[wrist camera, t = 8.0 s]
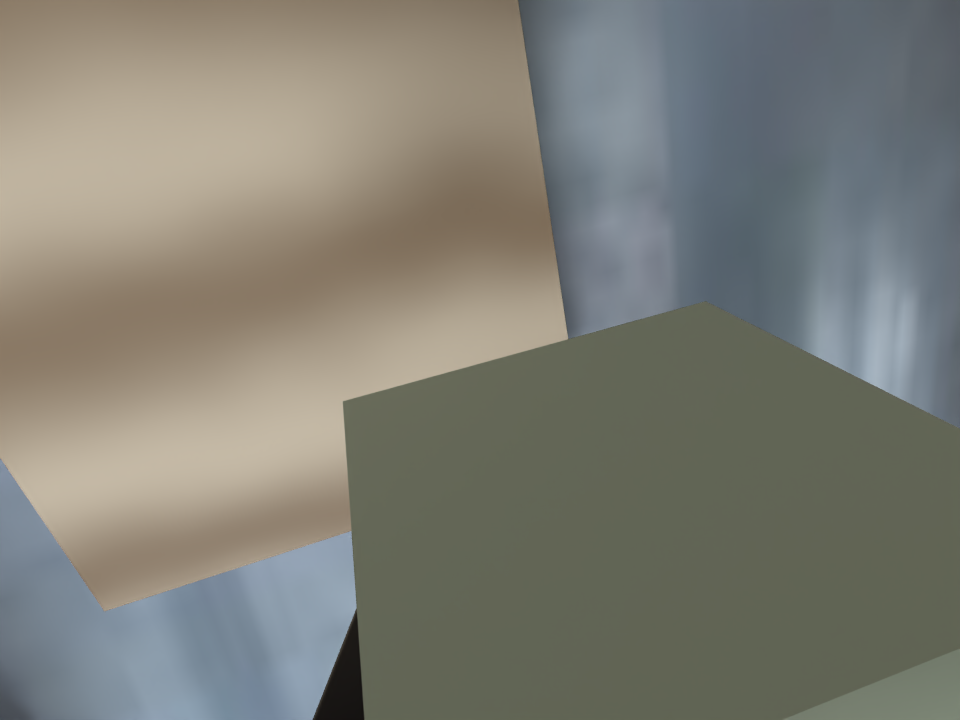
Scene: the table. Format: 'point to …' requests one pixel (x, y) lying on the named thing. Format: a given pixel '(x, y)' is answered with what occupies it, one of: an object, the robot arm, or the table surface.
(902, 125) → the table surface
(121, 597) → the base block
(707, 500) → the green cube
